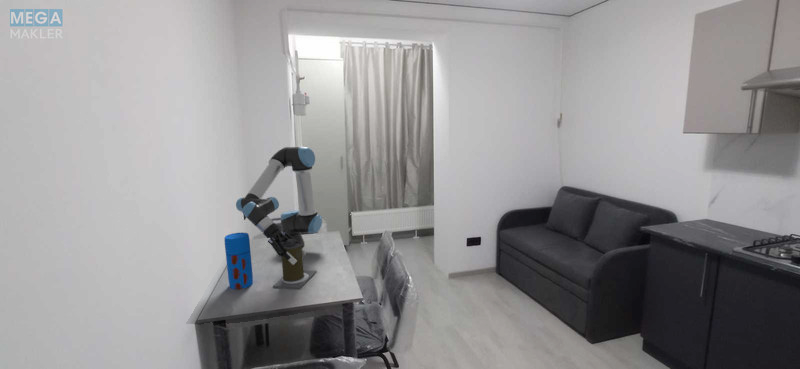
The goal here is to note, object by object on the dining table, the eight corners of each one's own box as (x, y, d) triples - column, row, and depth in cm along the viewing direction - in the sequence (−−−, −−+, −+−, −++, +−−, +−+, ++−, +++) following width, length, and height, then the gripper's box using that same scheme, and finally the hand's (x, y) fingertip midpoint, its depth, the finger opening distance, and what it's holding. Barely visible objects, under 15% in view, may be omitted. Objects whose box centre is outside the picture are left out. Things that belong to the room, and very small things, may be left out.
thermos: (236, 279, 179) (231, 232, 175) (256, 279, 178) (252, 232, 174) (225, 289, 168) (219, 239, 164) (247, 289, 168) (242, 239, 163)
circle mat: (292, 270, 189) (291, 269, 188) (316, 272, 186) (316, 270, 186) (272, 287, 169) (272, 285, 169) (300, 289, 167) (299, 287, 167)
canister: (297, 282, 172) (294, 243, 168) (278, 281, 174) (275, 242, 171) (308, 273, 182) (305, 236, 179) (290, 272, 184) (287, 235, 181)
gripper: (275, 226, 187) (304, 255, 187) (250, 239, 165) (284, 272, 165) (283, 216, 186) (313, 246, 186) (260, 229, 164) (294, 262, 164)
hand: (300, 259), depth 175 cm, fingers open, 10 cm apart
